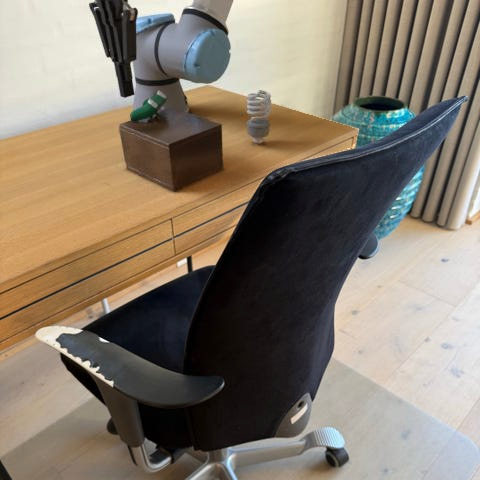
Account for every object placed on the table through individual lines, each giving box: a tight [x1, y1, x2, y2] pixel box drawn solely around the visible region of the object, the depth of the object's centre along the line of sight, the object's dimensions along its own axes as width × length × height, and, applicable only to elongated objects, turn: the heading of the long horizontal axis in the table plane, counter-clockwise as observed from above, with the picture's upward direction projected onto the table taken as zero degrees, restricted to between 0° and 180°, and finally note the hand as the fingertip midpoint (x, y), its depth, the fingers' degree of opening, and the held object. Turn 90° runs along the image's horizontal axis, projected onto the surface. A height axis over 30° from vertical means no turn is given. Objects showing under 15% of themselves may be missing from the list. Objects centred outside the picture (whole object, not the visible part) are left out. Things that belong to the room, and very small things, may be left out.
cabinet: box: [118, 107, 224, 193], centre depth 101 cm, size 16×14×10 cm
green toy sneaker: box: [129, 90, 167, 121], centre depth 100 cm, size 9×4×6 cm
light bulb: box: [246, 89, 272, 145], centre depth 110 cm, size 6×6×12 cm
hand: (127, 95), depth 103 cm, fingers closed
